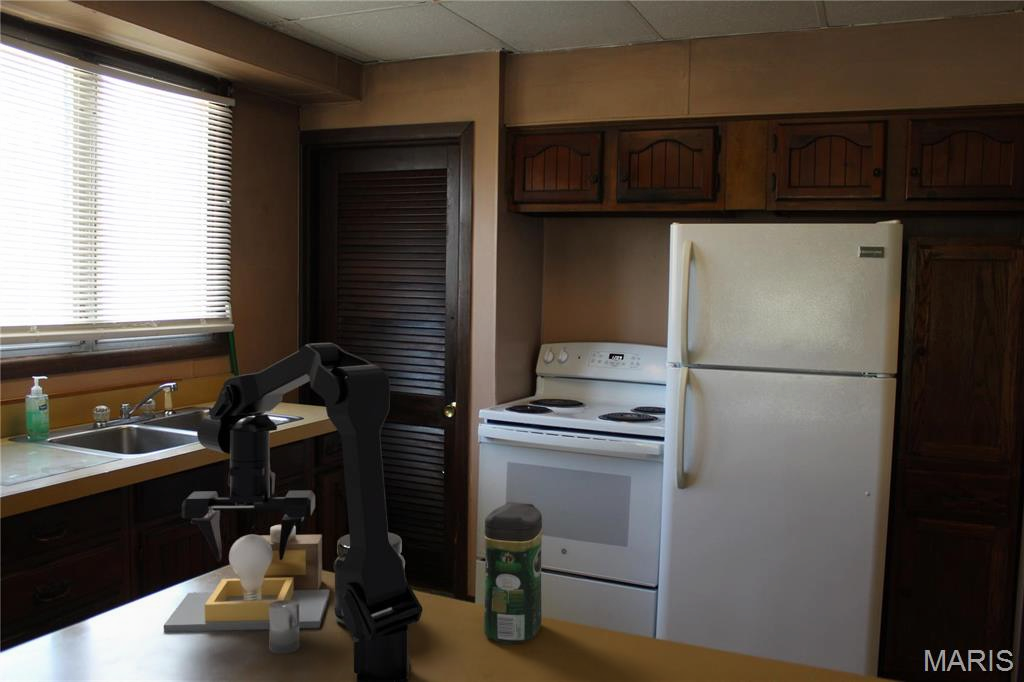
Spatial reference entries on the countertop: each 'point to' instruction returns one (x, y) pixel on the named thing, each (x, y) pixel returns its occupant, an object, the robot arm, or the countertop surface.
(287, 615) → the silver metal cylinder
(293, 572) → the lamp unit
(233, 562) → the lightbulb
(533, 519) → the coffee jar
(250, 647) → the countertop surface
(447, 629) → the countertop surface
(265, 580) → the board
